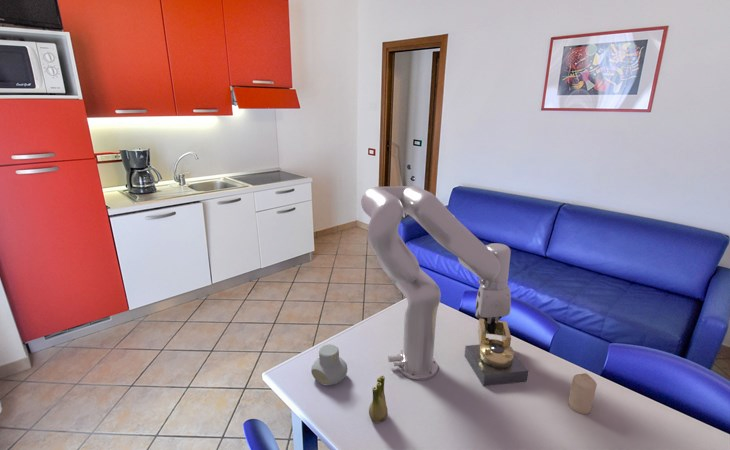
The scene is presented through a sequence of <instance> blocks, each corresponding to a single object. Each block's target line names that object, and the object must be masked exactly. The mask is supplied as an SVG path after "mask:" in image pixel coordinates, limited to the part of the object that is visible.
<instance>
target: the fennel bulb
mask: <svg viewBox="0 0 730 450" xmlns="http://www.w3.org/2000/svg"><path fill="white" fill-rule="evenodd" d="M376 380H377V381H376V386H372V401H371V403H370V405H369V407H368V414H369V415H368V416H369V418H370V419H371V421H372V423H380V422H384V421H385V420H386V419H387V417H388V406H387V401H386V395H385V376H384V375H380V376H379V377H378V378H376Z"/></svg>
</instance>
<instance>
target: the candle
mask: <svg viewBox="0 0 730 450" xmlns="http://www.w3.org/2000/svg"><path fill="white" fill-rule="evenodd" d="M597 384H598V383H597V382H596V381H595V379H594V378H593V377H592V376H590V375H589V373H586V372H583V373H577V374H574V375H573V377H572V382H571V387H570V390H569V395H568V400H567V401H568V402H567V404H568V407H569V408H571V410H573V411H574V412H576V413H578V414H582V415H586V414H589V413H590V412H591V411H592V408H593V407H592V406H593V402H594V398H595V394H596V389H597Z"/></svg>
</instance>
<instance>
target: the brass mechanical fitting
mask: <svg viewBox="0 0 730 450" xmlns="http://www.w3.org/2000/svg"><path fill="white" fill-rule="evenodd" d="M485 324H486V321H485V320H484V319H483V318H478V325H477V327H478V328H477V334H478V335H477V336H478V341H479V343H478V344H479V345H480V350H479V356H480V358H481V360H482V361H483V362H485V363H486V364H488V365H490V366H493V367H497V368H505V367H508V366H510V365H511V364H512V362H513V356H514V353H515V351H514V349H513V347H512V346H511V341H512V336H511V332H510V329H509V324H508V322H507V321H505V320H499V321H498V323H496V330H495V333H494V334H493V335H495V336H500V337H501V340H500V339H495V338H494V339H492V338H491V339H490V338H489V337H486V336H487V335H490V334H489V333H488V331H487V330H486V329H485Z"/></svg>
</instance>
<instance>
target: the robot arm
mask: <svg viewBox="0 0 730 450" xmlns="http://www.w3.org/2000/svg"><path fill="white" fill-rule="evenodd" d="M360 205H361V208H362V210H363V212H365V214H366V215H367V216H368V217H369V218H370V219H369V223H368V226H367V232H366V241H367V243H368V245H369V247H370V249H371V250H372V251H373V253H374V255H375V256H376V258H377V262H378V264H379V266H380V268H382V270H383V271H384V273H385V274H386V275H387V276H388V277H389V279H390V280H391V281H392V283H393V284H394V285H395V287H396V288H398V290H399V291H400V292H401V294H402V295H403V296H404V297H405V299H406V300H407V306H406V310H405V313H404V319H403V321H404V322H403V343H402V344H403V347H402V350H400V353H398V354H397V355H388V356H387V360H388V361H387V362H388V363H393V367H397V368H398V370H399V371H400V373H401V374H402V375H404V376H405V377H407V378H409V379H412V380H416V381H425V380H428V379H431V378H433V377H434V376H435V375H436V374H437V372H438V369H439V368H438V366H439V365H438V362H437V360H436V359H435V358H434V353H435V351H434V350H435V338H436V324H437V323H436V322H437V314H438V310H439V309H438V308H439V305H440V303H441V297H442V294H441V289H440V287H439V285H438V284H437V283H436V281H435V280H434V279H433V278H432V277H431V276H430V275H428V274H427V273H426V272H425V271H424V270H423V269H422V268H420V263H419V260H418V258H417V257H416V255H415V254H414V253H413V251H411V250H410V248H409V246H407V244H406V243H405V241H404V240H403V238H402V237H401V235H400V233H399V227H400V224H401V221H402V218H403V215H404V214H406V215H408V216H409V217H411V218H412V219H414V220H415V221H416V222H417V223H418V224H419V226H421V228H423V229H424V230H425V231H426V232H427V233H428V234H429V235H430V236H431V237H432V238H433V239H434V240H435V241H436V242H437V243H438V244H439V245H441V246H442V247H443V248H444V249H445V250H446V251H448V252H450V253H451V254H453V255H454V256H455V257H457V260H458V262H459V264H460V265H461V266H463V267H464V268H465V269H466V270H468V271H469V272H471V273H473V275H475V276H476V277H477V278H479V279H478V280H477V281H478V284H479V287H478V290H477V295H476V300H475V311H476V312H475V317H476V318H477V319H479V318H480V319H484V320H485V321H486V324H485V329H486V330H487V331H488V333H489V334H488V335H494V333H495V330H496V323H498V321H500V320H501V319H502V318H503V317H507V316H509V315H511V310H512V309H511V307H512V302H511V301H512V298H511V295H512V294H511V288H510V286H509V285H508V281H509V274H510V273H509V272H510V264H511V263H510V262H511V253H512V252H511V251H512V250H511V248H510V247H509V246H508V245H507V244H504V243H499V242H498V243H495V242H494V243H488V244H484V242H482V241H481V240H480V239H479V238H478V237H477V236H476V235H474V234H473V233H472V232H471V230H469V229H468V228H467V227H466V226H465V225H464V224H463V223H462V222H461V221H459V219H458V218H457V217H455V215H454V214H452V212H451V211H450V210H449V209H448V208H447V207H446V206H445V205H444V203H442V201H440V199H439V198H438V197H436V195H435V194H433V193H432V192H430V191H429V190H426V189H424V188H421V187H420V186H415V185H411V186H410V185H399V186H398V185H397V186H396V185H395V186H374V187H370V188H369V189H366V191H365V192H364V193H363V195H362V196H361V199H360Z"/></svg>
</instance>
